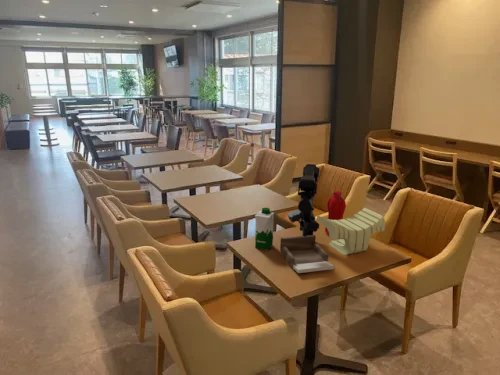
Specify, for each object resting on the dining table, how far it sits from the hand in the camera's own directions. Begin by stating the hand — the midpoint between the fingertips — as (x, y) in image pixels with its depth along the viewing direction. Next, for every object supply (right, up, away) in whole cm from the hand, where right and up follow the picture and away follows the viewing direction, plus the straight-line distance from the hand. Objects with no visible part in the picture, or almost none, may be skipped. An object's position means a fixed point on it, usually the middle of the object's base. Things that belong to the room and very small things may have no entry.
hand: (304, 236), depth 180 cm
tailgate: (+2, -12, -5) cm, 13 cm away
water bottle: (+22, -3, +32) cm, 39 cm away
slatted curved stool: (+25, -8, +15) cm, 30 cm away
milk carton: (-19, -8, +17) cm, 26 cm away
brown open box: (0, -11, +3) cm, 12 cm away
